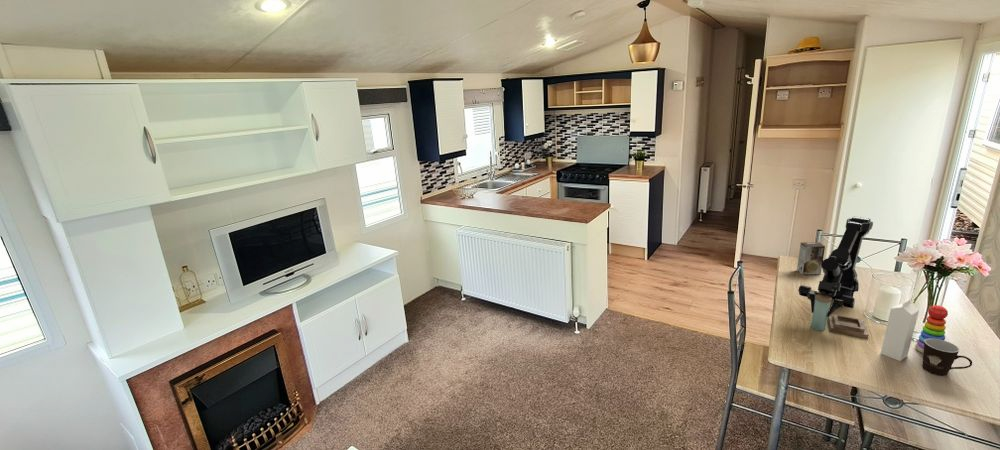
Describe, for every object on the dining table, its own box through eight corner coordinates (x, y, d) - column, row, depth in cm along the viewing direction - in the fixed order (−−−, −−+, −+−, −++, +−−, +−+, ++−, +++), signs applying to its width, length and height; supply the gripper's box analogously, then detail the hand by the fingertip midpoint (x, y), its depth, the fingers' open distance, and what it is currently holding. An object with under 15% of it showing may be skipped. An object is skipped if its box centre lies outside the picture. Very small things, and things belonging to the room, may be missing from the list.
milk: (907, 356, 162) (922, 302, 155) (900, 361, 159) (914, 307, 152) (887, 348, 167) (900, 296, 160) (879, 353, 164) (892, 300, 157)
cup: (823, 324, 184) (828, 294, 180) (828, 331, 180) (834, 300, 175) (808, 323, 186) (813, 293, 182) (812, 330, 181) (818, 299, 177)
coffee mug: (911, 364, 157) (917, 339, 154) (933, 361, 158) (940, 337, 155) (945, 384, 146) (952, 358, 143) (969, 382, 147) (977, 356, 144)
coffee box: (814, 270, 236) (819, 241, 232) (821, 274, 230) (826, 246, 226) (795, 270, 238) (800, 242, 233) (802, 274, 232) (806, 246, 227)
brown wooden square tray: (828, 318, 189) (829, 311, 188) (863, 324, 183) (865, 318, 182) (830, 331, 180) (831, 324, 179) (868, 338, 173) (869, 331, 173)
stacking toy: (931, 345, 167) (943, 301, 161) (950, 358, 159) (963, 311, 154) (909, 345, 168) (920, 301, 162) (926, 357, 160) (938, 311, 155)
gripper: (802, 267, 185) (791, 300, 181) (858, 279, 172) (847, 314, 168) (805, 278, 192) (794, 310, 189) (858, 290, 179) (848, 325, 175)
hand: (819, 314), depth 180 cm, fingers closed on cup, 5 cm apart
